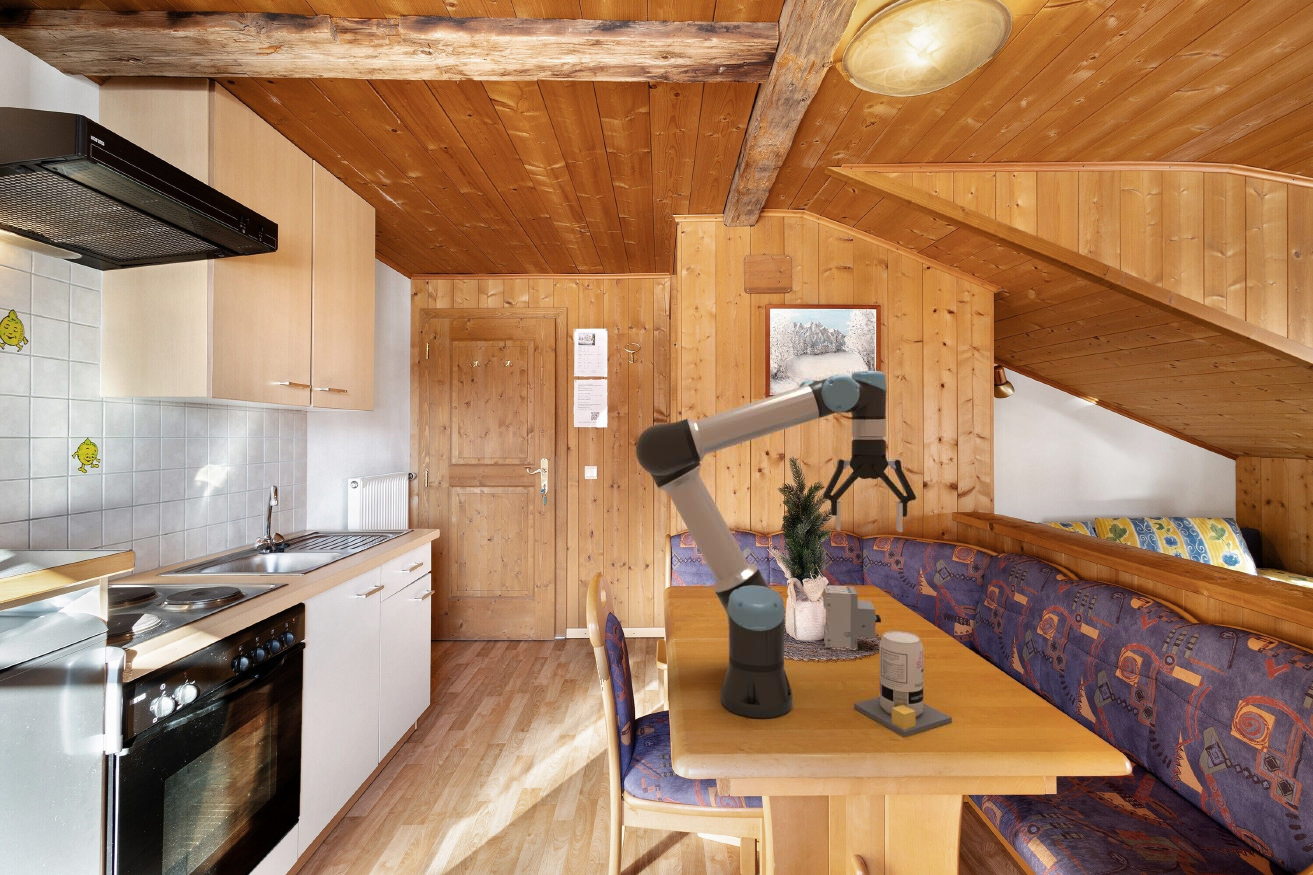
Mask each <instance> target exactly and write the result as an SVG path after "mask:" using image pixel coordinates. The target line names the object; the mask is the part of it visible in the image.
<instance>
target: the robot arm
mask: <svg viewBox="0 0 1313 875" xmlns="http://www.w3.org/2000/svg"><path fill="white" fill-rule="evenodd" d="M887 393H888V390H887V380H886V374H885V373H884V372H883V371H880V370H861V371H854V372H853V373H852V374H851V376H848V375H845V374H834V375H832V376H831V375H830V376H829V377H828V378H823V379H822V380H814V379H812V380H807V381H806V380H804V381H802V382H801V383H800V385H799V387H797V388H796V387H795V388H794V389H791V390H788V391H787V390H786V391H784V392H781V393H778V394H775V395H771V396H768V397H765V398H762V399H759V400H756V401H752V402H750V403H747V404H744V405H740V406H737V407H735V408H734V407H733V408H731V409H728V410H725V411H722V412H719V413H716V414H713V415H709V416H706V417H704V418H700V419H698V420H693V419H691V418H689V417H688V418H685V419H682V420H678V421H674V422H669V423H657V424H654V425H651V426H649V427H647V428H645V430H643V431H642V432H641V433H640V435H639V437H638V438H637V441H636V444H635V456H636V459H637V462H638V464H639V465H640V466H641V467H642V468H643V470H644V471H646V472H647V473H649V475H650V476H651V478H652V480H653V482H654V483H655V485H656V487H657V489H659V490H660V491H661V490H662V491H664V492H667V494H668V495H669V497H670V499H671V501H672V502H673V504H674V506H675V508H676V510H677V511H678V514H679V515H680V517H681V519H682V521H683V522H684V525H685V526H686V528H687V530H688V532H689V534H690V536H691V537H692V539H693V541H694V543H695V544H696V547H697V548H698V550H699V551H700V553H701V555H702V557H703V559H704V561H705V563H706V564H707V566H708V568H709V570H710V572H711V573H712V575H713V578H714V580H715V583H714V587H713V590H714V593H715V594H716V596H717V598H718V600H719V602H720V604H721V605H722V607H723V609H724V611H725V613H726V615H727V623H728V666H727V669H726V672H725V676H724V679H723V683H722V685H721V688H720V703H721V704H722V706H724V708H726V709H727V710H728V711H730V712H731V713H734V714H736V715H740V716H743V717H747V718H755V719H767V718H768V719H770V718H776V717H779V716H782V715H783V716H784V715H785V714H787V713H789V712H790V711H791V710H792V709H793V704H794V703H793V701H794V700H793V691H792V688H791V686H790V682H789V679H788V676H787V672H786V670H785V615H786V608H785V605H784V604H785V603H784V599H783V595H781V593H779V592H778V591H777V590H776V589H772V588H771V587H770V585H769V584H768V583H767V582H766V580H765V578H764V577H763V574H762V573H761V571H760V569H759V567H758V566H757V565H756V564H752V563H749V562H748V560H747V559H746V557H745V556H744V553H743V551H742V550H741V548H740V546H739V545H738V542H737V541H736V539H735V537H734V535H733V533H732V532H731V529H730V527H728V524H727V522H726V521H725V519H724V517H723V516H722V513H721V512H720V510H719V508H718V507H717V505H716V503H715V501H714V499H713V497H712V496H711V494H710V491H709V490H708V488H707V486H706V485H705V482H704V481H703V479H702V477H701V476H700V470H701V467H702V464H701V463H700V462H701V461H702V462H703V460H704V459H705V456H707V455H708V454H711V453H712V454H713V453H715V452H718V451H721V450H723V449H727V448H730V447H733V446H737V445H740V444H743V443H746V442H749V441H753V440H754V439H758V438H761V437H764V436H767V435H771V434H774V433H777V432H780V431H783V430H785V429H789V428H791V427H792V428H793V427H795V426H799V425H801V424H805V423H808V422H811V421H814V420H817V419H820V418H824V417H827V416H830V415H834V414H839V413H840V414H841V413H843V414H850V413H851V414H850V415H851V437H852V438H853V439H852V440H851V458H850V460H845V459H841V458H838V460H837V463H836V469H835V470H834V473H833V474H832V476H831V478H830V480H829V482H828V484H827V486H826V487H825V490H824V491H823V494H822V497H823V498H824V499H825V500H828V501H830V514H831V516H835V530H836V531H841V529H842V528H841V524H842V523H841V514H842V513H841V508H842V507H841V501H840V500H839V499H840V498H841V497H842V496H843V495H844V493H845V492H846V491H847V490H849V488H850V487H851V486H852V485H853V483H854V482H855V481H857V480H858V478H859V479H861V480H867V479H871V480H877V479H878V478H880V480H881V481H882V482H883V483H884V484H885V485H886V487H887V488H889V489H890V491H891V492H892V493H893V494H894V496H895V497H896V498H897V499H898V500H899V501H895V502H896V506H895V508H896V512H895V513H896V516H895V517H896V518H895V519H896V520H895V521H896V524H895V530H896V531H897V532H899V533H903V531H904V529H903V526H904V525H903V520H904V519H903V518H906V517H907V516H908V503H909V502H911V501H915V500H916V499H917V496H916V494H915V492H914V491H913V490H914V489H912V486H911V485H910V482H909V480H908V479H907V476H906V475H905V473H904V470H902V461H901V460H900V459H893V460H888V459H887V441H886V439H884V438H885V437H886V436H887ZM848 466H849V467H850V468H851V469H852V472H851V473H850V474H849V475H848V477H847V478H846V479H845V481H843V483H841V485H840V486H839V487H838V488H837V490H836V491H834V489H835V487H836V485H837V483H838V481H839V479H840V477H841V476H842V473H843V471H844V470H846V469H847V468H848ZM888 466H889V467H890V469H891V470H893V471H894V473H895V475H896V477H897V479H898V480H899V483H900V484H901V487H902V489H903V490H904V492H905V494H906V495H905V494H904V493H903V492H902V491H901V490H900V489H899V488H898V487H897V485H896V484H895V483H894V482H893V481H892V479H891V478H889V476H888V474H886V472H885V471H886V469H887V468H888ZM833 491H834V493H833ZM832 493H833V494H832Z"/></svg>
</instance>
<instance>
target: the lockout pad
mask: <svg viewBox="0 0 1313 875" xmlns="http://www.w3.org/2000/svg"><path fill="white" fill-rule="evenodd" d="M853 704H854V710H856V711H858V712H860V713H862V714H864V715H865V716H867V717H869V718H870V719H872V720H874V721H875V720H876V722H877V723H879V724H881V725H882V724H883V726H885V727H886V728H887V727H888V729H889V730H891V731H893V732H894V731H895V732H894V733H897V735H899V736H901V735H902V736H901V737H903V738H906V736H907V737H909V735H910V736H912V734H913V735H916V734H920V733H922V732H925V731H928V730H931V729H935V728H938V727H941V726H944V725H948V724H951V723H952V722H953V717H952V716H951V715H948V714H946V713H944V712H942V711H940V710H938V709H937V708H934V707H932V706H930V705H928V704H925V703H924V702H923V712H922V713H921V714H920V715H919V716H917V717H915V711H914V710H912V709H910V708H908V707H906V706H904V705H900V706H897V707H893V708H892V715H891V714H889V713H887V712H886V711H885V710H884V709H883V708H882V707H881V706H880V696H877V697H874V698H871V699H866V700H862V701H858V702H855V703H853Z"/></svg>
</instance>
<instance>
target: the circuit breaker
mask: <svg viewBox="0 0 1313 875" xmlns="http://www.w3.org/2000/svg"><path fill="white" fill-rule="evenodd" d="M825 586H826V587H825V589H824V588H823V592H822V601H823V609H825V610H826V623H825V625H824V641H823V644H824V643H825V646H834V647H849V648H857V649H858V638H869V639H876V624H877V623H880V624H881V623H882V618H881V616H880V614H876V609H875V607H874V605H873V603H872V601H870V600H858V592H857V591H856V588H855V586H849V585H848V586H845V585H825ZM825 646H824V647H825Z"/></svg>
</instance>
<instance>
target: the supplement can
mask: <svg viewBox="0 0 1313 875" xmlns="http://www.w3.org/2000/svg"><path fill="white" fill-rule="evenodd" d="M879 697H880V706H881V707H882V708H883V709H884V710H885V711H886V712H887V713H889V714H891V715H892V708H893V707H897V706H900V705H904V706H906V707H908V708H910V709H912V710H914V711H915V717H917V716H919V715H920V714H921V713H922V712H923V703H924V645H923V643H922V642H921V638H920V637H919V636H918V635H917V634H914V633H911V632H907V631H902V630H901V631H900V630H890V631H886V632H883V634H882V636H881V639H880V640H879Z"/></svg>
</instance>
